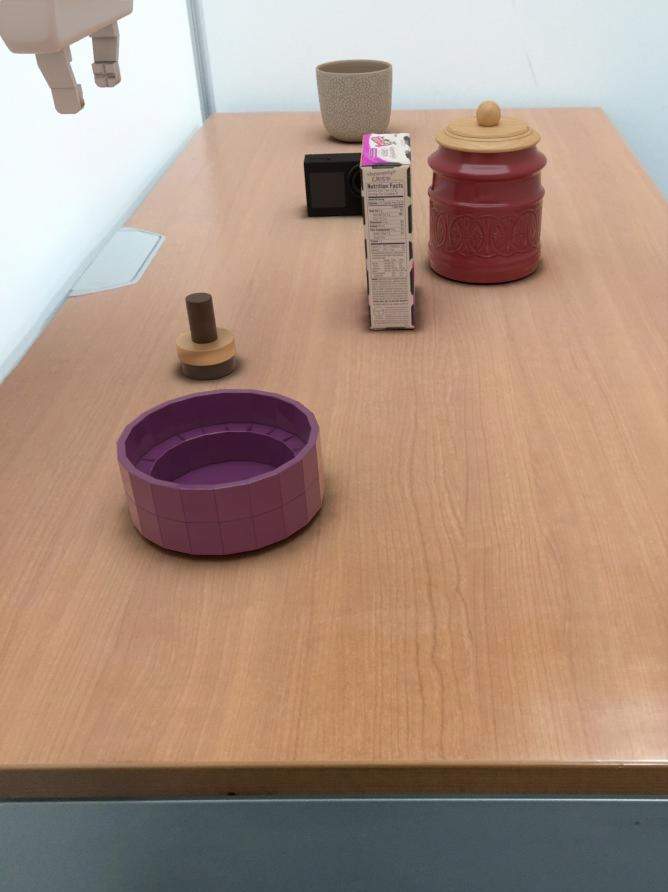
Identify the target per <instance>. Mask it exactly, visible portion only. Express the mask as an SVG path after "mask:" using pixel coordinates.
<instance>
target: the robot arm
mask: <svg viewBox="0 0 668 892" xmlns="http://www.w3.org/2000/svg"><path fill="white" fill-rule="evenodd" d="M133 11H134V0H0V38H1V40H2V41H3V43H4V45H5V46H6V47H7V49H8V51H9V52H11V53H12V54H17V55H34V56H35V61H36V64H37V67H38V69H39V71H40V73H41V74H42V76H43V78H44V80H45V82H46V84H47V86H48V87H49V89H50V92H51V97H52V101H53V105H54V109H55V111H56V112H57V113H58V114H60V115H76V114H78V113H79V112H80V111H82V110H83V109H84V108H85V105H86V102H85V99H84V93H83V87H82V84H81V83H77V80H76V77H75V74H74V70H73V68H72V64H71V62H73V56H72V51H71V45H73V44H75V43H77V42H79V41H81V40H83V39H85V38H87V37H88V38H91V45H92V54H93V56H92V57H93V62H92V63H91V71H92V73H93V79H94V84H95V85H96V86H97V88H102V89H103V88H114V87H116V86H117V85H119V84H120V83H121V82H122V75H121V74H122V73H121V68H120V64H119V57H120V36H121V35H120V30H119V24H118V23H119V22H118V21H119V20H122V19H124V18H126V17H127V16H129V15H131V14H132V13H133Z"/></svg>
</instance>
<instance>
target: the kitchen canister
mask: <svg viewBox="0 0 668 892" xmlns="http://www.w3.org/2000/svg"><path fill="white" fill-rule="evenodd" d="M541 137H542V136H541V134H540V133H539V132H538V131H537V130H535V129H534V128H533V127H531V126H529V124H528V122H527V121H525V120H523V119H520V118H517V117H511V116H504V115H503V116H502V112H501V107H500V106H499V104H498V103H497V102H496V101H493V100H485V101H482V102H481V103H480V104H479V105H478V107H477V109H476V113H475V115H473V116H467V117H466V116H465V117H461V118H457V119H455V120H452V121H450V122H449V124H448V125H447V126H446V127H444V128H442V129H441V130H440V131H438V132H437V133H436V134H435V138H434V139H435V142H436V143H437V144H438V147H437V149H435V150H434V151H433V152H431V154H430V155H429V156H428V157H427V165H428V166H429V168H430V169H431V170H432V176H431V184H430V185H429V186H428V189H427V195H428V202H429V203H428V204H429V205H428V206H429V207H428V208H429V210H428V211H429V213H428V215H429V216H428V217H429V220H428V221H429V222H428V223H429V239H428V243H427V248H428V250H427V256H428V258H429V264H430V268H431V269H432V270H433V271H434V272H435V273H436V274H438V275H440V276H442V277H444V278H446V279H450V280H454V281H458V282H464V283H473V284H497V283H498V284H499V283H506V282H511V281H516V280H519V279H523V278H524V277H527V276H529V275H531V274H532V273H534V272H535V271H536V269H537V268H538V265H539V261H540V258H541V255H542V251H541V250H542V242H541V232H542V219H543V218H542V217H543V206H544V205H543V203H544V197H545V195H546V189H545V187H544V186H543V185H542V170H543V169H544V168H545V167H546V166H547V163H548V158H547V156H546V155H545V154H544V153H543V152H542V151H541V150H539V149H538V147H537V145H538V144H539V143H540V141H541V140H542V139H541Z"/></svg>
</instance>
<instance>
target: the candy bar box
mask: <svg viewBox="0 0 668 892" xmlns="http://www.w3.org/2000/svg"><path fill="white" fill-rule="evenodd" d="M361 144H362V145H361V152H360V153H361V160H360V174H361V191H362V210H363V215H362V223H363V224H362V225H363V240H364V243H363V244H364V258H365V273H366V274H365V275H366V291H367V307H368V308H367V309H368V324H369V329H370V330H371V331H372V330H373V331H374V330H375V331H386V330H387V331H388V330H409V329H410V330H411V329H412V330H413V329H415V328H416V283H415V281H416V280H415V279H416V277H415V242H414V240H415V239H414V206H413V205H414V204H413V201H414V199H413V170H412V169H413V168H412V167H413V166H412V149H411V146H412V145H411V135H410V133H409V132H395V133H394V132H384V133H381V134H377V133H372V134H366V135H363V141H362V142H361Z"/></svg>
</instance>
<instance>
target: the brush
mask: <svg viewBox="0 0 668 892" xmlns="http://www.w3.org/2000/svg"><path fill="white" fill-rule="evenodd" d="M184 302H185V307H186V308H185V309H186V313H187V320H188V325H189V326H188V327H189V330H186V331H184V332H182V333H181V334H179V335H178V336H177V337H176V338H175V347H176V354H177V358H178V360H179V361H180V364H181V371H182V373H183V375H184V376H186V377H187V378H190V379H192V380H193V379H194V380H201V381H206V380H207V381H208V380H214V379H215V380H216V379H220V378H223V377H225V376H228V375H230V374H231V373H233V372H234V370H235V369H236V367H237V362H236V357H235V356H236V355H235V354H236V352H237V347H236V339H235V335H234V333H233V332H232V331H231V330H229V329H227V328H223V327H220V326H219V327H218V326H217V321H216V315H215V308H214V302H213V296H212V294H211V293H207V292H194V293H191V294H188V295H187V296H185V298H184Z"/></svg>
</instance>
